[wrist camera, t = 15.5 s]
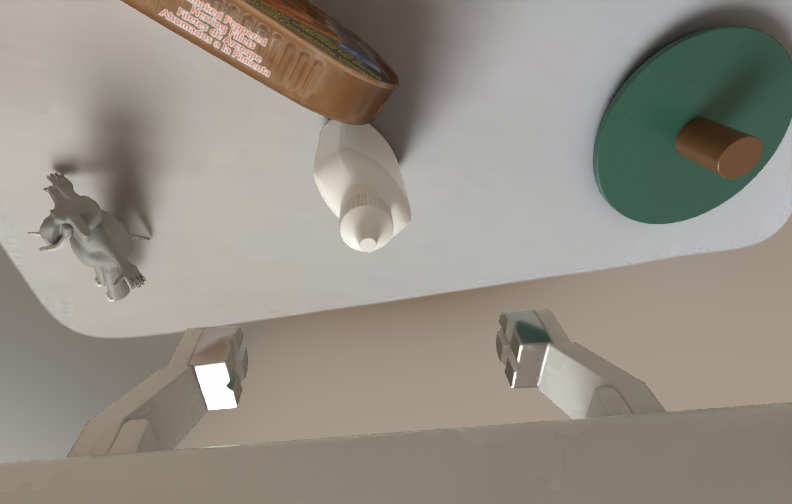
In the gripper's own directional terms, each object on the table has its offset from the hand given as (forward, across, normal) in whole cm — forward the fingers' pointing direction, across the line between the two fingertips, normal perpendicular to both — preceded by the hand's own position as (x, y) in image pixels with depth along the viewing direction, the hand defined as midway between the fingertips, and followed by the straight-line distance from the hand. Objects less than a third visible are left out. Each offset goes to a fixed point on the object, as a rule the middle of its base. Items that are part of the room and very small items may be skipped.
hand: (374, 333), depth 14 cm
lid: (+17, -22, -1) cm, 28 cm away
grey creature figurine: (+18, +16, +5) cm, 24 cm away
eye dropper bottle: (+17, 0, 0) cm, 17 cm away
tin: (+17, +5, -8) cm, 20 cm away
